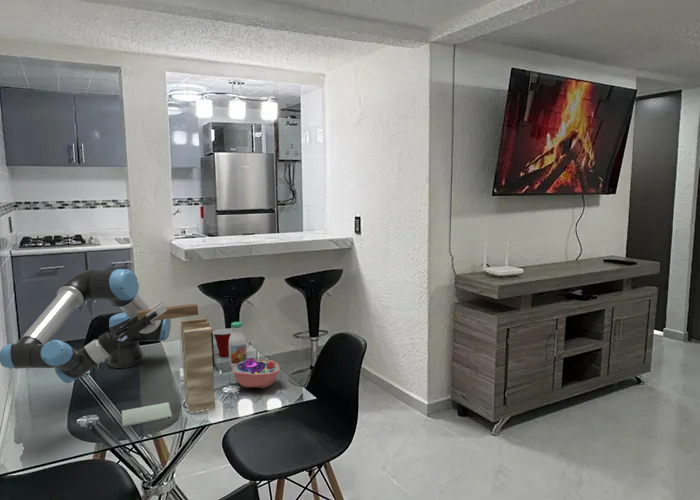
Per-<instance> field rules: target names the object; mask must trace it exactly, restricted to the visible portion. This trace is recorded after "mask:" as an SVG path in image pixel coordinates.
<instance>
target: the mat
mask: <svg viewBox="0 0 700 500" xmlns="http://www.w3.org/2000/svg"><path fill="white" fill-rule="evenodd" d="M168 417H170V418H173V414H172V411H171V406H170V403H169V401H168V402H162V403H157V404H156V403H155V404H150V405H145V406H140V407H135V408H130V409H125V410H121V421H122V423H121V425H122V428H124V427H128V426H134V425H139V424H144V423H149V422H154V421H159V420H164V418H165V419H169V418H168Z"/></svg>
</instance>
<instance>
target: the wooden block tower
mask: <svg viewBox="0 0 700 500" xmlns="http://www.w3.org/2000/svg"><path fill="white" fill-rule="evenodd" d="M210 327H211V326H210V322H209V321H208V319H207V318H205V317H204V318H200V319H199V318H198V319H192V320H191V319H190V320H183V321H180V339H181V342H180V343H181V355H182V371H183V384H184V386H183V387H184V388H183V389H184V399H185V403H186V407H187V410H188V413H189V412H190V413H189V414H192V413H191V412H195V413H197V412H196V411H200V412H202V411H201V410H205V411H208V410H207V409H210V410H215V409H216V397H215V396H216V395H215V382H214V381H215V380H214V368H213V359H212V341H211V328H210Z"/></svg>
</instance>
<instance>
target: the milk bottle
mask: <svg viewBox="0 0 700 500" xmlns="http://www.w3.org/2000/svg"><path fill="white" fill-rule="evenodd" d="M242 325H243V323H242V322H241V321H233V322H231V324H230V329H232V332H231V335H230V337H229V356H228V363H229V368H230V369H231V370H232V369H233V366H234V365H236V364H237V363H239V362H241V361H245V360H246V359H247V358H248V356H247V355H248V352H247V339H246V336H245V335H244V333H243V330H242V328H243V326H242Z"/></svg>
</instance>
